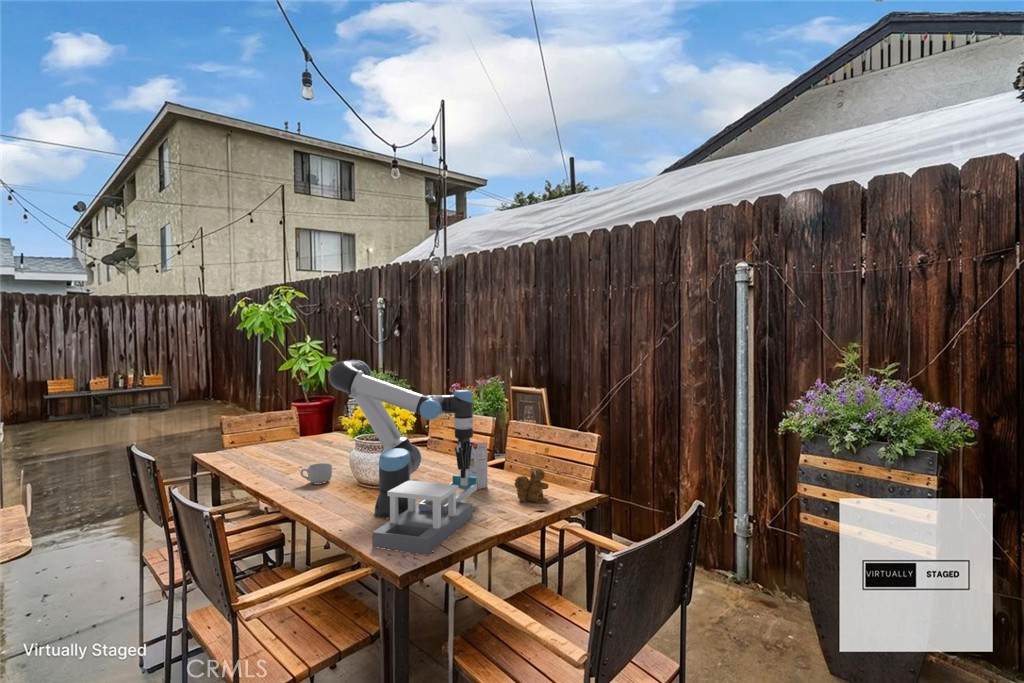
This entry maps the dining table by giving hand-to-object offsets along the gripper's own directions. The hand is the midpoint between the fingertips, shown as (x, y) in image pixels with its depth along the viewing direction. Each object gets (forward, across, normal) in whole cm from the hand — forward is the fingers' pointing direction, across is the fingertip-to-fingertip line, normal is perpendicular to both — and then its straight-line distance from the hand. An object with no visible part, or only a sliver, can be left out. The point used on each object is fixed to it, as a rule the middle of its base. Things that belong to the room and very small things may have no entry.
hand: (464, 485), depth 208 cm
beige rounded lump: (+2, -25, 0) cm, 25 cm away
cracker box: (+7, +23, +6) cm, 25 cm away
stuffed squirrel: (+8, +11, -25) cm, 29 cm away
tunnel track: (+7, -33, 0) cm, 33 cm away
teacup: (+7, +4, +78) cm, 78 cm away
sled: (+2, -13, 0) cm, 14 cm away
